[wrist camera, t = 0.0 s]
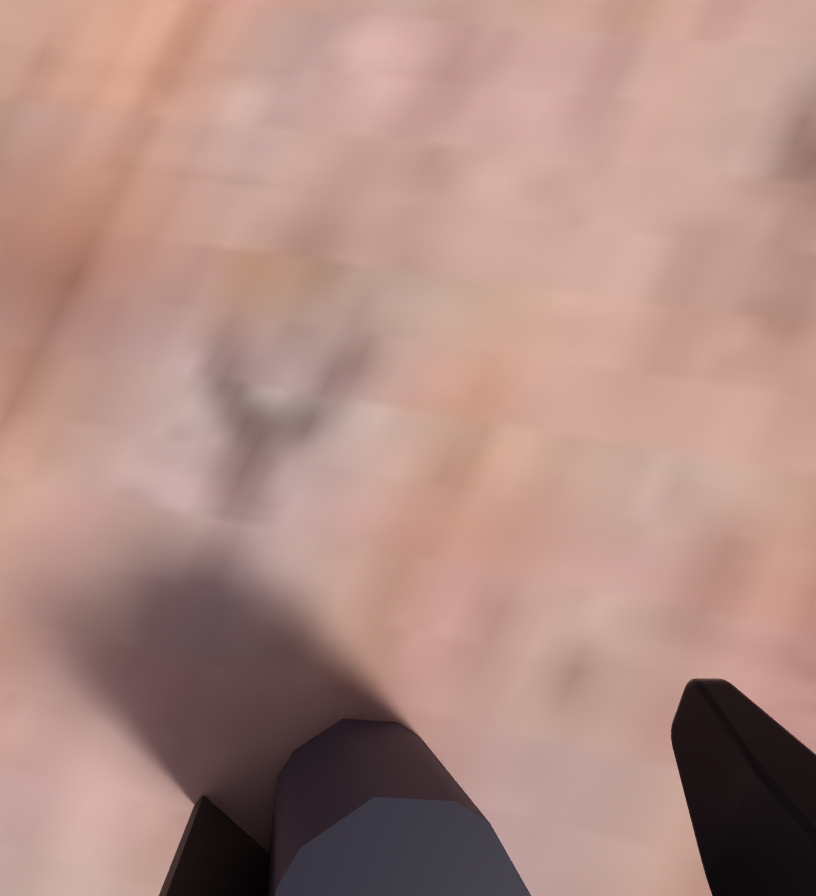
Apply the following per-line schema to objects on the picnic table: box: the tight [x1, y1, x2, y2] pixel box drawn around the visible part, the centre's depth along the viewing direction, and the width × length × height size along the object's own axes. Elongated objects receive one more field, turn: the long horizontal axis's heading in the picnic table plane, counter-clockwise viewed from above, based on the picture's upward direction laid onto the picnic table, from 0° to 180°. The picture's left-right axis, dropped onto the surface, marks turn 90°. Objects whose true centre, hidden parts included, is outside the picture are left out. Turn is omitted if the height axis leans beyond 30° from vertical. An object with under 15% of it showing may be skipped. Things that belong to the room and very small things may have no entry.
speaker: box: [159, 719, 531, 896], centre depth 18 cm, size 8×6×10 cm
